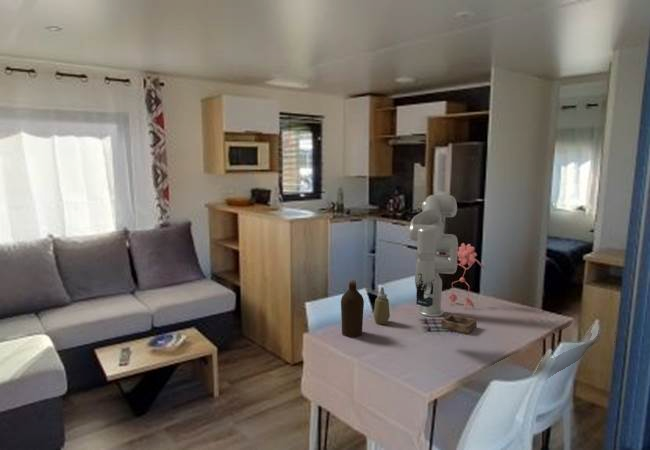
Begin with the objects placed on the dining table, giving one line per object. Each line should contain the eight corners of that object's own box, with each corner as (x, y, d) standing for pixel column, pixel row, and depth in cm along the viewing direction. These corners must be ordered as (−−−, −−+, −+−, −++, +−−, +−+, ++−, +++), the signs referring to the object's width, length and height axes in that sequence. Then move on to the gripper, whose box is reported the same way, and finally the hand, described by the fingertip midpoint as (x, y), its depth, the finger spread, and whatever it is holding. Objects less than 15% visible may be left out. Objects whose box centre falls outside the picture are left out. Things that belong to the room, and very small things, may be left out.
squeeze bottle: (371, 324, 222) (372, 288, 219) (375, 318, 229) (376, 284, 226) (387, 326, 218) (388, 290, 216) (391, 321, 226) (392, 286, 223)
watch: (414, 305, 195) (414, 280, 193) (423, 301, 201) (424, 277, 199) (425, 308, 191) (426, 283, 189) (434, 303, 197) (435, 279, 195)
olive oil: (365, 337, 205) (366, 283, 202) (343, 338, 203) (343, 284, 200) (360, 328, 215) (361, 277, 212) (338, 330, 214) (338, 278, 210)
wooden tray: (441, 328, 216) (441, 320, 216) (450, 322, 225) (451, 314, 224) (467, 334, 208) (468, 326, 208) (476, 328, 217) (476, 320, 216)
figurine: (477, 313, 238) (481, 248, 233) (437, 301, 258) (440, 241, 253) (493, 308, 247) (497, 245, 243) (453, 297, 267) (456, 239, 263)
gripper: (427, 252, 202) (425, 289, 204) (408, 258, 188) (407, 298, 191) (443, 254, 197) (441, 292, 200) (424, 261, 184) (423, 302, 186)
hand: (424, 295), depth 195 cm, fingers closed on watch, 8 cm apart
